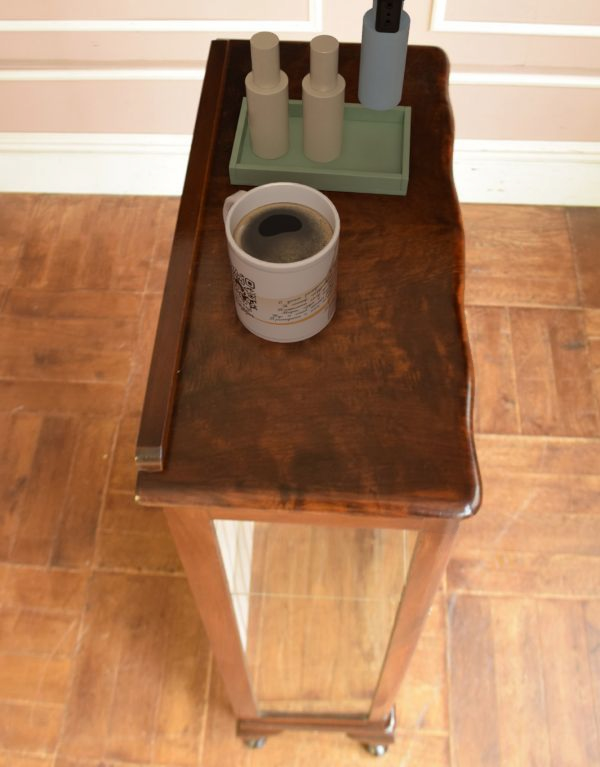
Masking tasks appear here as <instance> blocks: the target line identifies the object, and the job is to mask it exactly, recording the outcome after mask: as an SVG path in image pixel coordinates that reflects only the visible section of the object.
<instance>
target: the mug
mask: <svg viewBox="0 0 600 767" xmlns="http://www.w3.org/2000/svg"><path fill="white" fill-rule="evenodd" d="M222 217H223V223H224V228H225V238H226V245H227V252H228V260H229V267H230V275H231V276H230V277H231V284H232V291H233V299H234V307H235V312H236V315H237V317H238V319H239V320H240V323H241V324H242V325H243V326H244V327H245V328H246V329H247V330H248V331H249V332H250V333H251V334H253V335H255V336H256V337H258V338H261V339H263V340H266V341H269V342H274V343H280V344H281V343H282V344H283V343H285V344H287V343H297V342H301V341H305V340H307V339H310V338H312V337H314V336H315V335H317V334H318V333H320V332H321V331H323V330H324V329H325V328H326V326H327V325H328V324H329V323H330V322H331V320H332V318H333V317H334V314H335V312H336V308H337V300H338V299H337V295H338V277H339V273H338V272H339V256H340V239H341V238H340V237H341V220H340V215H339V212H338V210H337V208H336V206H335V205H334V203H333V202H332V201H331V200H330V198H328V196H326V195H325V194H323V192H321V191H320V190H316V189H314V188H311V187H309V186H306V185H302V184H298V183H291V182H277V183H270V184H265V185H262V186H255V187H253V188H252V189H249V190H248V191H246V190H243V189H242V190H241V189H239V190H238V191H236V192H234V193H233V194H231V195H229V196H227V197H226V198H225V200H224V202H223V207H222Z"/></svg>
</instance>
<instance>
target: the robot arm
mask: <svg viewBox="0 0 600 767" xmlns="http://www.w3.org/2000/svg"><path fill="white" fill-rule="evenodd" d="M402 1H404V2H406V0H377V8H376V21H375V30H376V31H377V32H379V33H397V32H398V31H399V27H400V18H401V9H402Z"/></svg>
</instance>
